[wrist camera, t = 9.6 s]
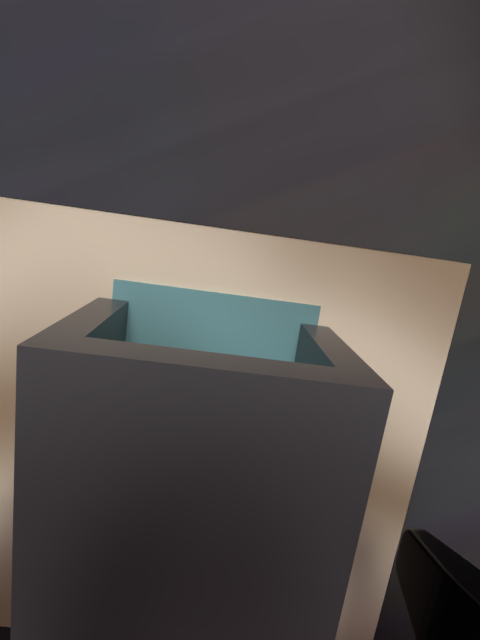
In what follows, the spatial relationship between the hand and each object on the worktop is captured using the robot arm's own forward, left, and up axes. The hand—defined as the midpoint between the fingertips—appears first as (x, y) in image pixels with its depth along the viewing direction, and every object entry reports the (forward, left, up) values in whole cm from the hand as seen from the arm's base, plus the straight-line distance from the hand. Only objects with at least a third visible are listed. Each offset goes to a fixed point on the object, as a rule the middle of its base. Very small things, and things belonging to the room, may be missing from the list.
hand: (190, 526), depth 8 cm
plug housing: (0, 0, -2) cm, 2 cm away
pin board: (0, 0, -4) cm, 4 cm away
